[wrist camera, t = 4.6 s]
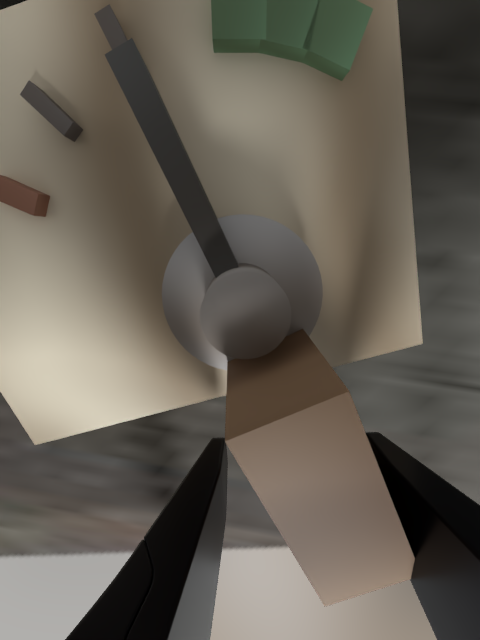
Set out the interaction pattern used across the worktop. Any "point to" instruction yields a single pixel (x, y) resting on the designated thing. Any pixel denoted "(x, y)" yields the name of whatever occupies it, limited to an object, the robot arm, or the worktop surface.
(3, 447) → the worktop surface
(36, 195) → the dial board
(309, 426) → the gauge needle
